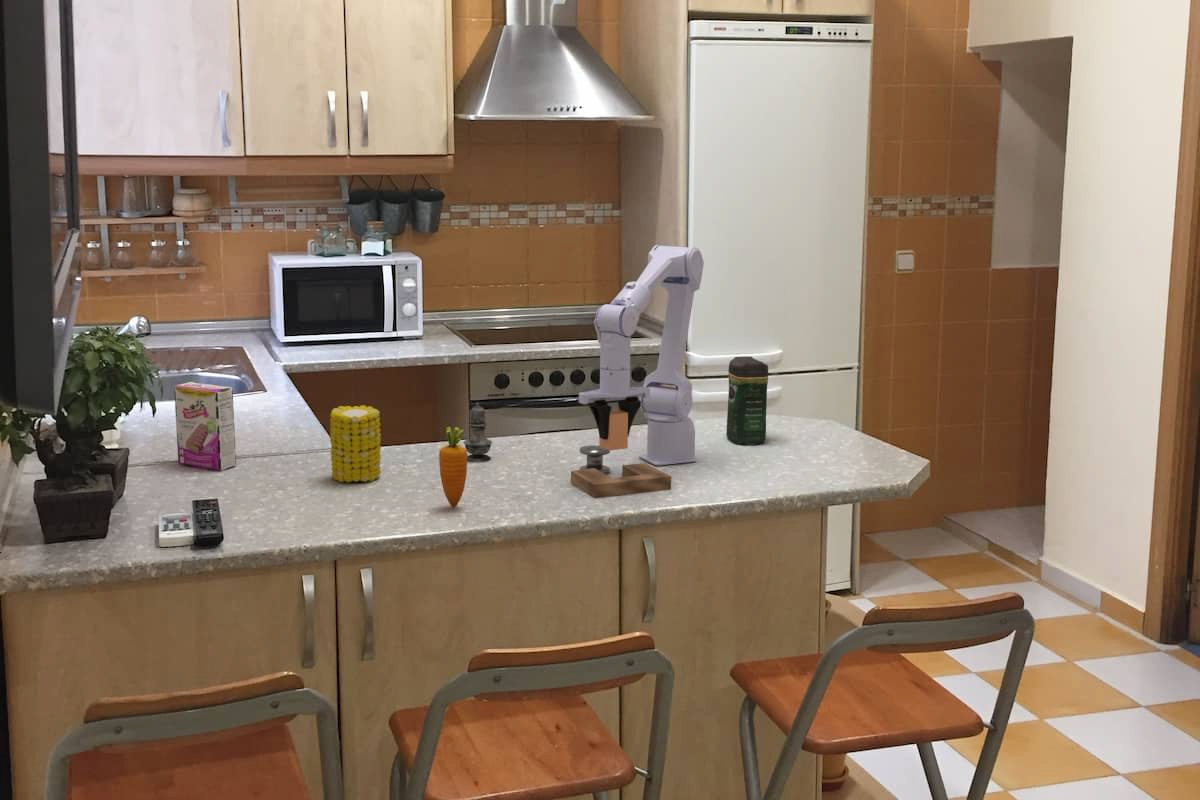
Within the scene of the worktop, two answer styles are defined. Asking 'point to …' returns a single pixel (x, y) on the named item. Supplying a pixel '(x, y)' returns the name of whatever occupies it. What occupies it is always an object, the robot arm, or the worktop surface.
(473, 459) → the salt shaker
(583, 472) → the notched board
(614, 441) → the brown block
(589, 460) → the doorknob
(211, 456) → the candy bar box
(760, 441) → the coffee jar
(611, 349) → the robot arm
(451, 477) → the carrot
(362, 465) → the food
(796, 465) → the worktop surface
